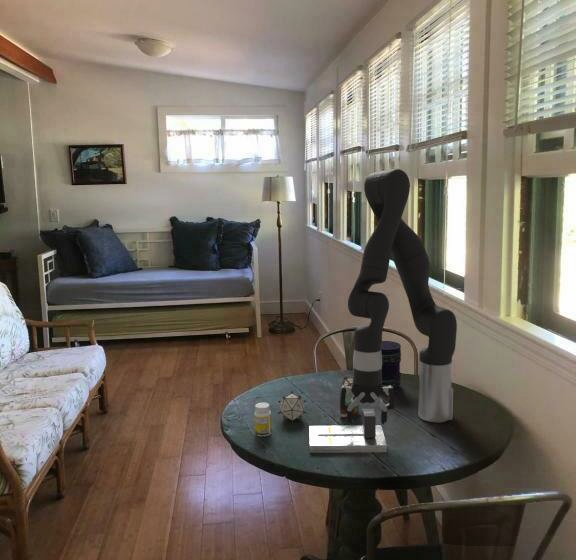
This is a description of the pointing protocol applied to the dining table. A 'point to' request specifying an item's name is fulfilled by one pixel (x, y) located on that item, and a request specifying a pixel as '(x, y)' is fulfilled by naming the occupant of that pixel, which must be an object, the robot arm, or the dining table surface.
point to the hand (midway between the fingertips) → (366, 423)
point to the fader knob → (369, 423)
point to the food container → (348, 398)
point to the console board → (345, 439)
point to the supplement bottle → (262, 419)
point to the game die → (292, 406)
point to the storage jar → (391, 364)
